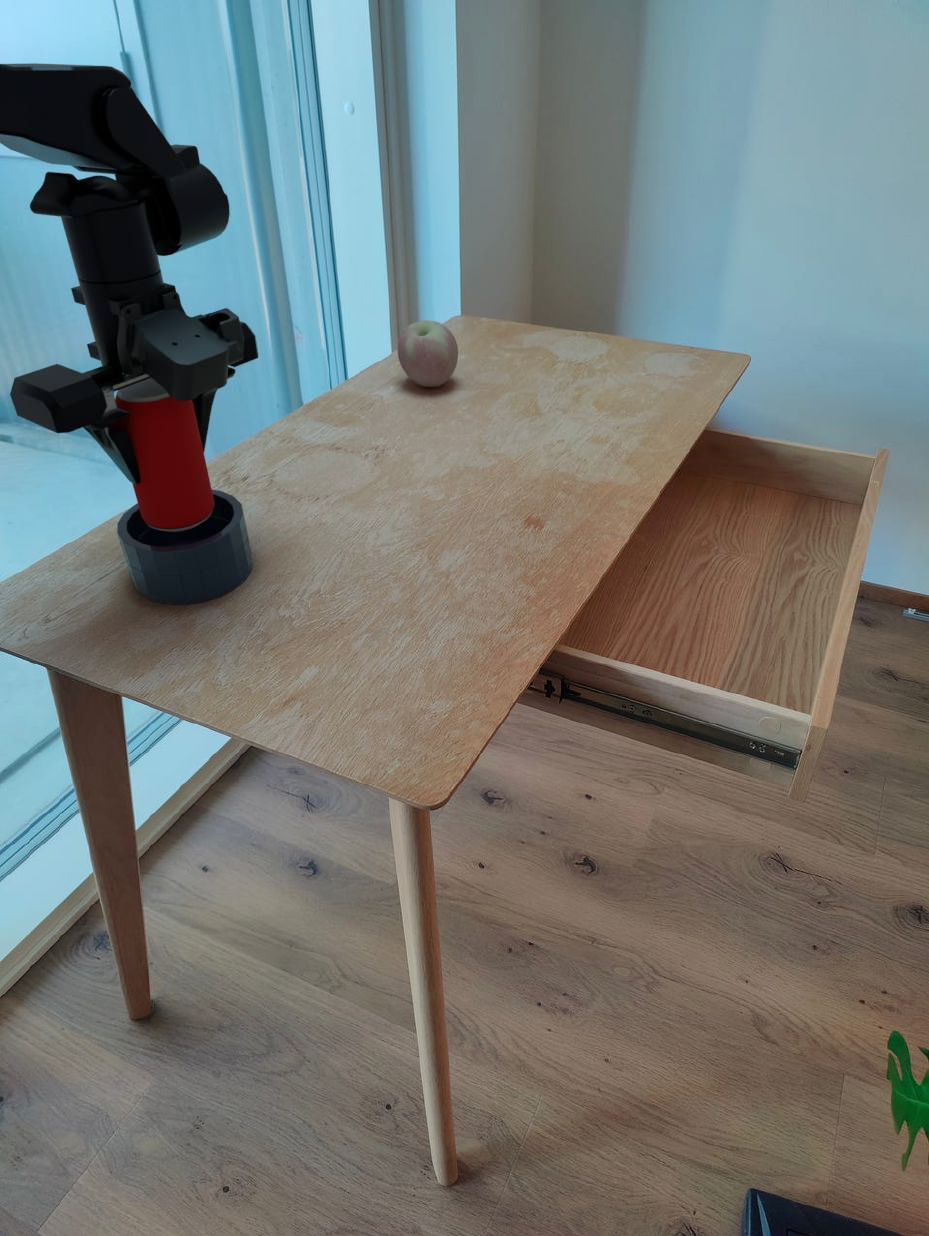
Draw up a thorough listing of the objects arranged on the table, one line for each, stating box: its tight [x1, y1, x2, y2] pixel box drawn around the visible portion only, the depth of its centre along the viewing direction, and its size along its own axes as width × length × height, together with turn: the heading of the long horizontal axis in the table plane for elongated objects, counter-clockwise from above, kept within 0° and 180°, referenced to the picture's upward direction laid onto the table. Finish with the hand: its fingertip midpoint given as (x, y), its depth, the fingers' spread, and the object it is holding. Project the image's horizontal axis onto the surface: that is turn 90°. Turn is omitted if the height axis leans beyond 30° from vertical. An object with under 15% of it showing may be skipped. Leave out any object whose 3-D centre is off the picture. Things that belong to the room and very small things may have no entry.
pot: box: [116, 488, 254, 605], centre depth 74 cm, size 11×11×6 cm
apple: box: [397, 319, 459, 388], centre depth 107 cm, size 8×8×8 cm
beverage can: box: [115, 378, 214, 532], centre depth 69 cm, size 6×6×12 cm
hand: (167, 467), depth 70 cm, fingers closed on beverage can, 6 cm apart
